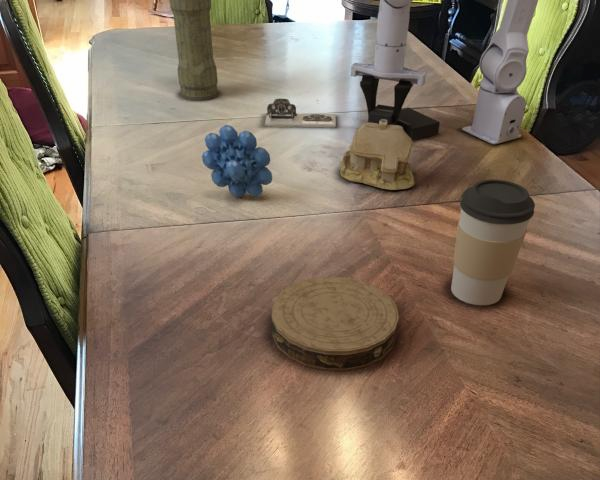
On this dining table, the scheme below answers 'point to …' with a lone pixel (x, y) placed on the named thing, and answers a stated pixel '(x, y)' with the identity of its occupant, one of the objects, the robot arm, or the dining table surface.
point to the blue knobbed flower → (237, 162)
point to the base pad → (417, 124)
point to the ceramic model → (379, 157)
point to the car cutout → (295, 116)
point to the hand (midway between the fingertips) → (383, 118)
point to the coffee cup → (489, 239)
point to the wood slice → (334, 323)
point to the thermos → (194, 49)
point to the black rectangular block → (382, 114)
